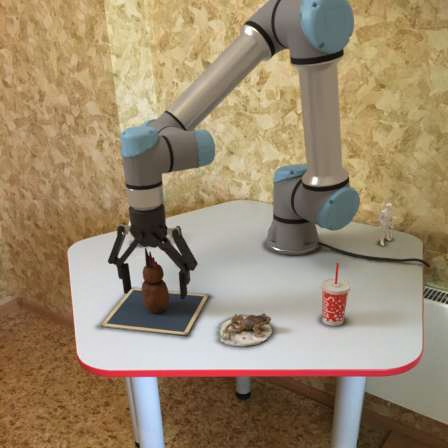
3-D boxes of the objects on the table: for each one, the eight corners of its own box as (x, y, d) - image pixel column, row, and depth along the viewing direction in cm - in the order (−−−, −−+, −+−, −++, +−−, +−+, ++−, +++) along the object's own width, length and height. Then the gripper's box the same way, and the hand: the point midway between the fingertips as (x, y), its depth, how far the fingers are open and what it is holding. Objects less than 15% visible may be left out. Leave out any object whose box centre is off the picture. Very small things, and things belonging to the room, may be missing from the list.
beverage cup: (313, 316, 120) (317, 260, 113) (337, 311, 122) (342, 255, 115) (327, 330, 115) (332, 271, 108) (352, 324, 117) (358, 266, 110)
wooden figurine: (140, 305, 126) (133, 247, 118) (164, 300, 128) (158, 242, 120) (148, 319, 120) (142, 258, 113) (173, 313, 122) (167, 253, 115)
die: (153, 236, 165) (131, 212, 162) (168, 230, 158) (145, 204, 155) (137, 255, 161) (114, 230, 157) (152, 248, 154) (128, 222, 150)
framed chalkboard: (208, 296, 130) (208, 294, 129) (186, 336, 114) (186, 334, 114) (131, 289, 134) (131, 287, 134) (101, 326, 119) (100, 325, 118)
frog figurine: (269, 315, 121) (270, 301, 119) (275, 345, 110) (275, 330, 108) (219, 317, 121) (218, 302, 119) (219, 347, 110) (219, 332, 108)
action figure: (381, 246, 153) (386, 206, 147) (372, 242, 155) (376, 202, 149) (397, 241, 156) (402, 201, 150) (387, 237, 158) (392, 198, 152)
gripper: (208, 201, 112) (212, 290, 122) (99, 196, 117) (111, 281, 128) (198, 214, 106) (203, 306, 116) (83, 207, 111) (98, 296, 121)
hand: (155, 293), depth 122 cm, fingers open, 13 cm apart
